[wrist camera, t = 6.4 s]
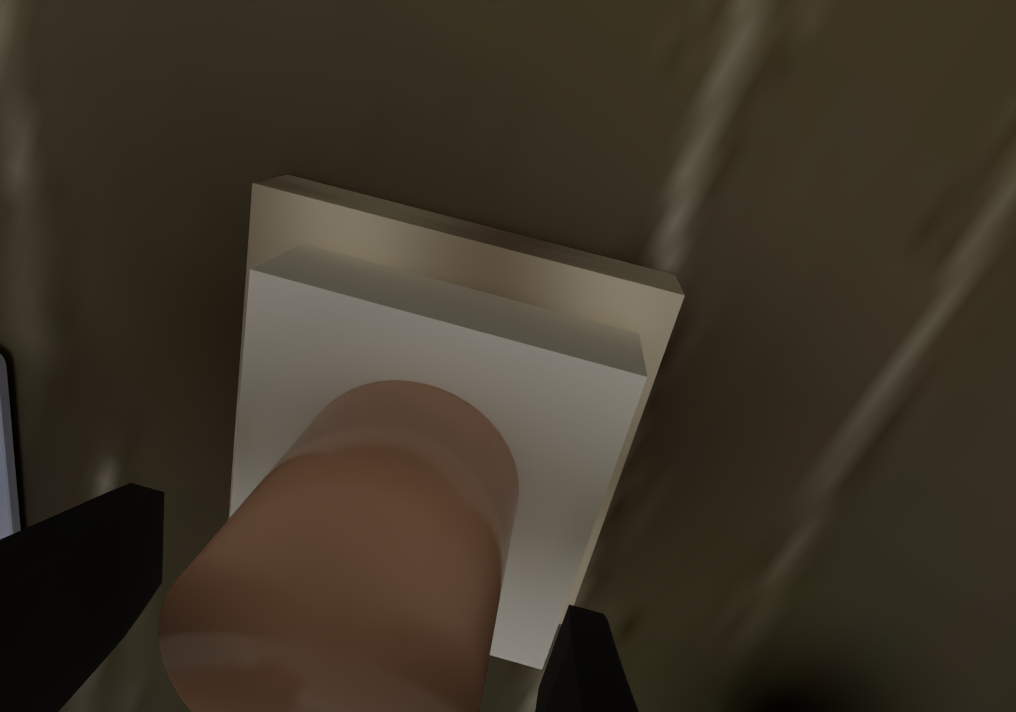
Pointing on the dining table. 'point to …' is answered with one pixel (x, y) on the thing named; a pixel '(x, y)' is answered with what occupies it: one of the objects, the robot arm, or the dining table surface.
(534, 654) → the cream slab
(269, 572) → the terracotta cylinder
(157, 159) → the dining table surface
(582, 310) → the birch slab
